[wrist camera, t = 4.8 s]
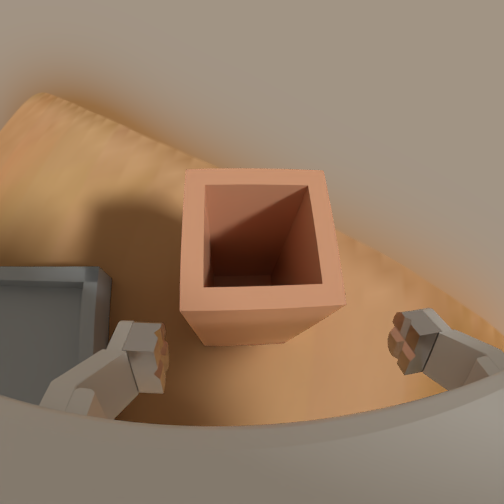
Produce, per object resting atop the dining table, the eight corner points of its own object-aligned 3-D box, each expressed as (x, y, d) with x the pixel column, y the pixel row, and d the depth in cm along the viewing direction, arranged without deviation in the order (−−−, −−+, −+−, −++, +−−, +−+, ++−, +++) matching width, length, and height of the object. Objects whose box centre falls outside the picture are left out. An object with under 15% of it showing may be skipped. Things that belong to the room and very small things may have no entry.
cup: (283, 343, 19) (346, 304, 9) (204, 346, 19) (179, 311, 9) (278, 269, 21) (323, 170, 11) (203, 271, 21) (186, 169, 11)
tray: (115, 478, 15) (102, 488, 12) (-40, 428, 13) (-58, 429, 11) (112, 278, 20) (99, 266, 18) (-34, 275, 19) (-51, 266, 16)
